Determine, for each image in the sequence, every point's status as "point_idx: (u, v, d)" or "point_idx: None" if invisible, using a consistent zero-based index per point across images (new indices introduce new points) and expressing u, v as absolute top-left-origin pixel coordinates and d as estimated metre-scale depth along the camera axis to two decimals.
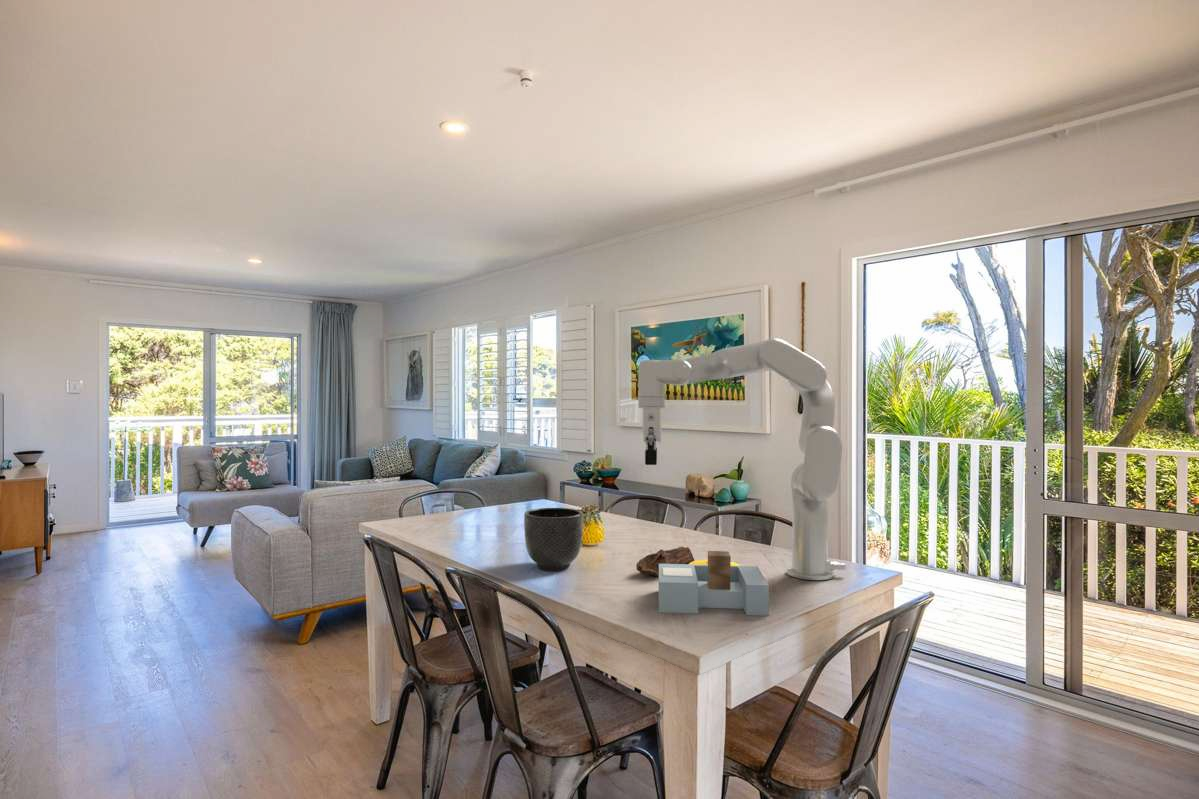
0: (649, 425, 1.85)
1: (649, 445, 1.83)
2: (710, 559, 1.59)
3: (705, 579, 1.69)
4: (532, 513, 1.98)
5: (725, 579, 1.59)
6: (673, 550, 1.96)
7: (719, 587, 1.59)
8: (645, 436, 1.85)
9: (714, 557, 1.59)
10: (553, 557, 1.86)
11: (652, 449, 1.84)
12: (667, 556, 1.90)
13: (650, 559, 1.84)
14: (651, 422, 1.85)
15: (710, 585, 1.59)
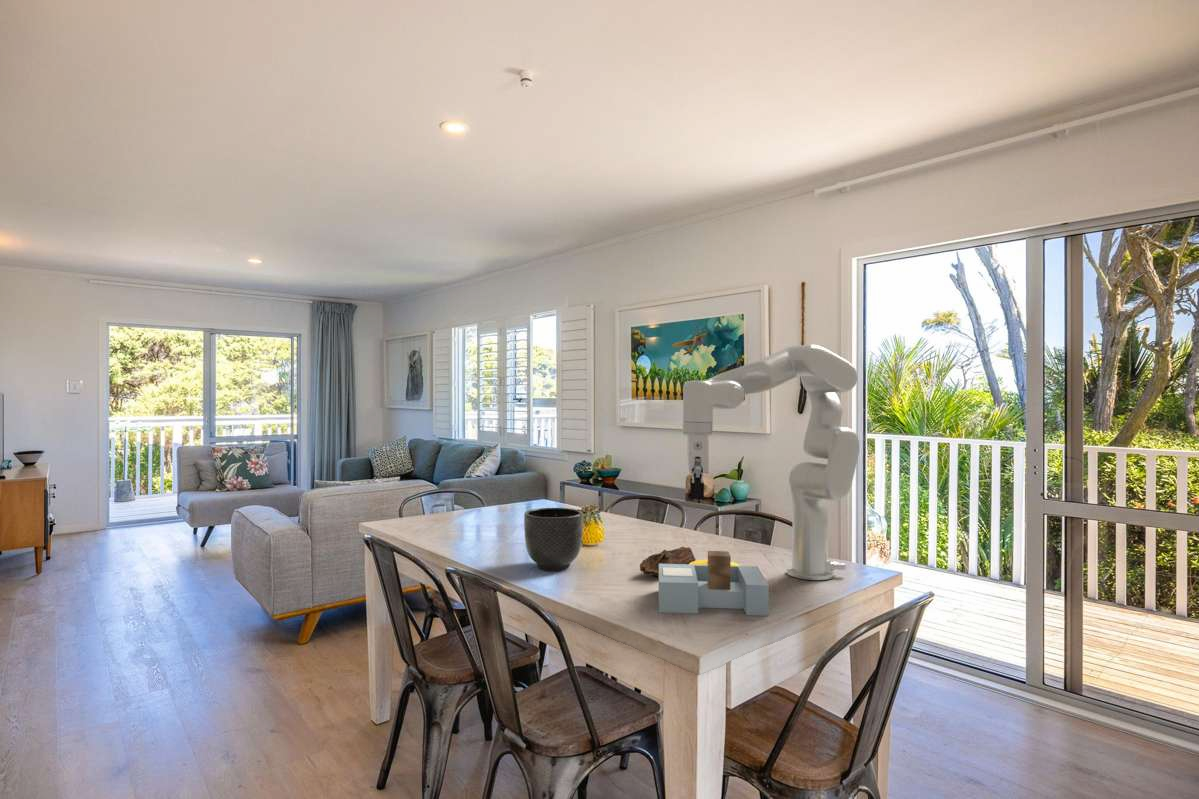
0: (696, 454, 1.64)
1: (696, 477, 1.62)
2: (710, 559, 1.59)
3: (705, 579, 1.69)
4: (532, 513, 1.98)
5: (725, 579, 1.59)
6: (675, 550, 1.95)
7: (719, 587, 1.59)
8: (691, 467, 1.64)
9: (714, 557, 1.59)
10: (553, 557, 1.86)
11: (699, 482, 1.63)
12: (669, 556, 1.90)
13: (654, 560, 1.83)
14: (698, 451, 1.64)
15: (710, 585, 1.59)
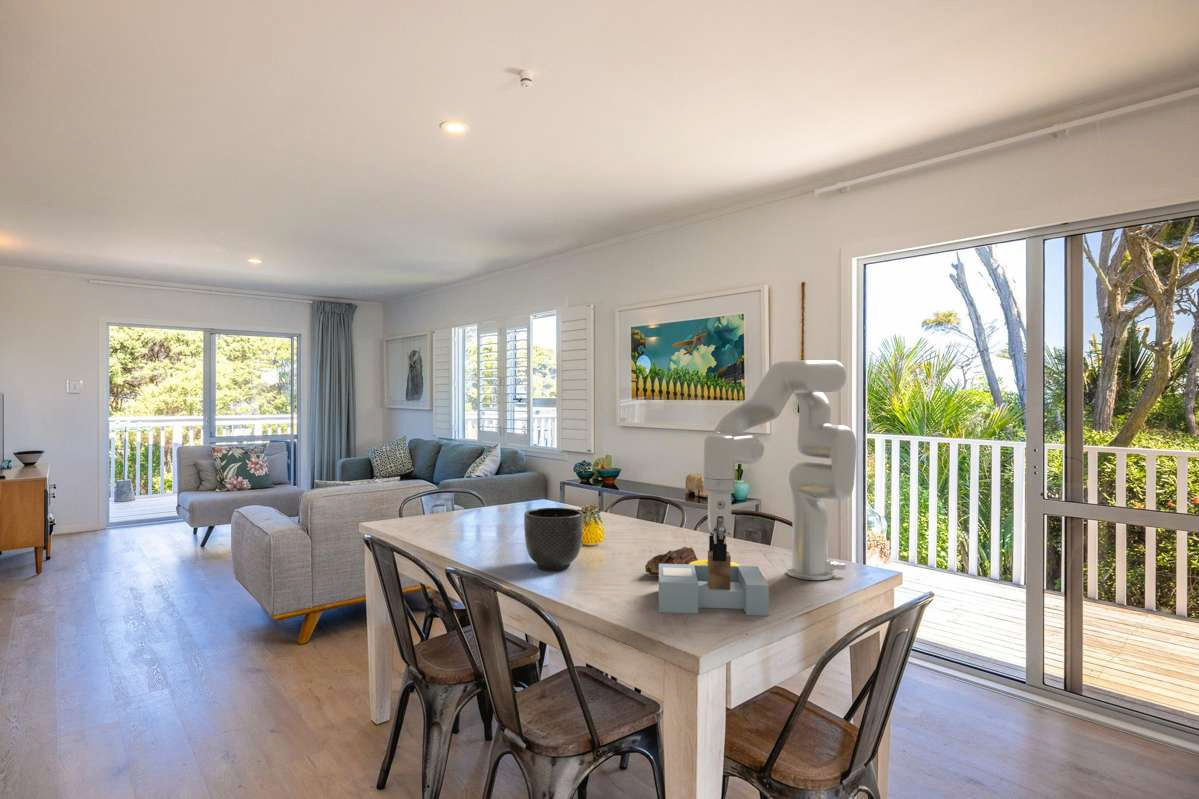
0: (718, 513, 1.56)
1: (719, 539, 1.54)
2: (710, 559, 1.59)
3: (705, 579, 1.69)
4: (532, 513, 1.98)
5: (725, 579, 1.59)
6: (677, 551, 1.95)
7: (719, 587, 1.59)
8: (713, 527, 1.56)
9: None
10: (553, 557, 1.86)
11: (722, 543, 1.55)
12: None
13: (659, 560, 1.82)
14: (720, 510, 1.56)
15: (710, 585, 1.59)
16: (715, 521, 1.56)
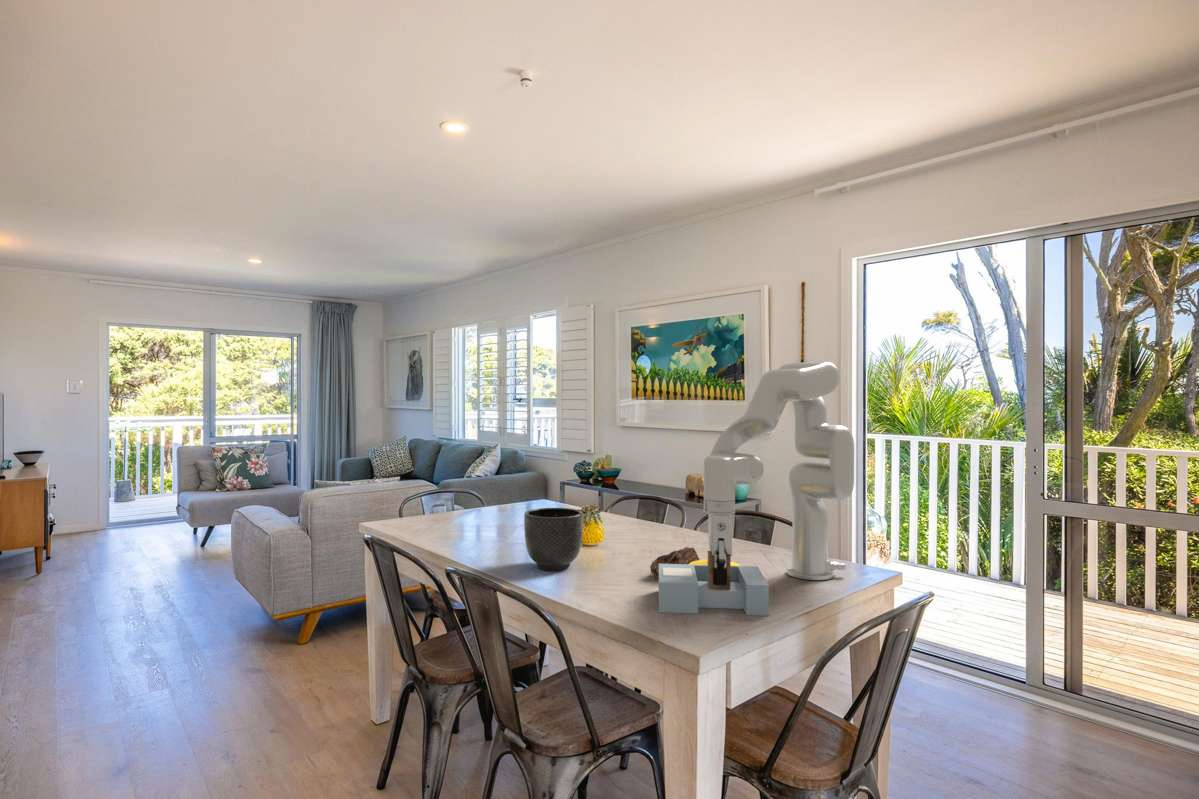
0: (719, 535, 1.56)
1: (719, 563, 1.56)
2: (710, 559, 1.59)
3: (705, 579, 1.69)
4: (532, 513, 1.98)
5: None
6: (680, 551, 1.94)
7: (719, 587, 1.59)
8: (714, 549, 1.56)
9: None
10: (553, 557, 1.86)
11: (722, 568, 1.57)
12: None
13: (664, 561, 1.82)
14: (721, 532, 1.56)
15: (710, 585, 1.59)
16: (716, 543, 1.56)
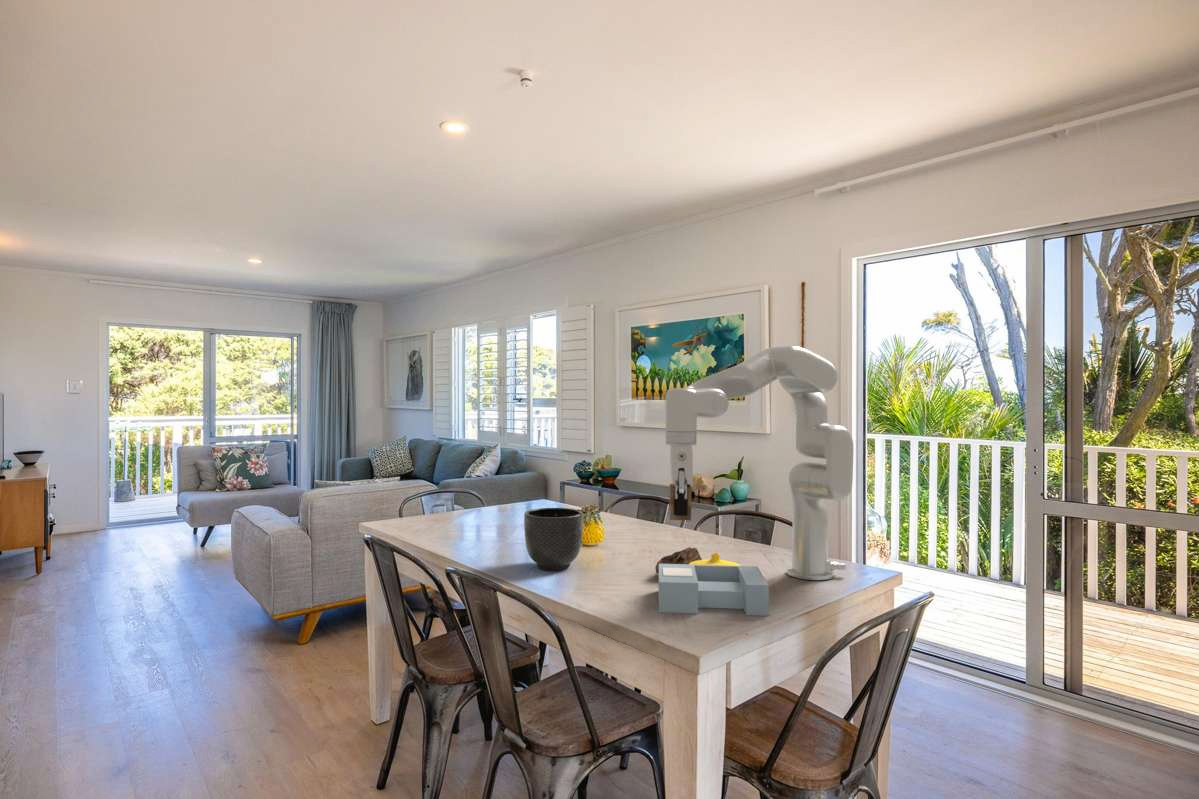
0: (679, 465, 1.57)
1: (680, 493, 1.57)
2: (671, 490, 1.59)
3: (705, 579, 1.69)
4: (532, 513, 1.98)
5: None
6: (683, 551, 1.94)
7: (680, 518, 1.59)
8: (674, 479, 1.57)
9: None
10: (553, 557, 1.86)
11: (682, 498, 1.58)
12: None
13: (669, 561, 1.81)
14: (682, 462, 1.57)
15: (671, 516, 1.59)
16: (676, 473, 1.57)
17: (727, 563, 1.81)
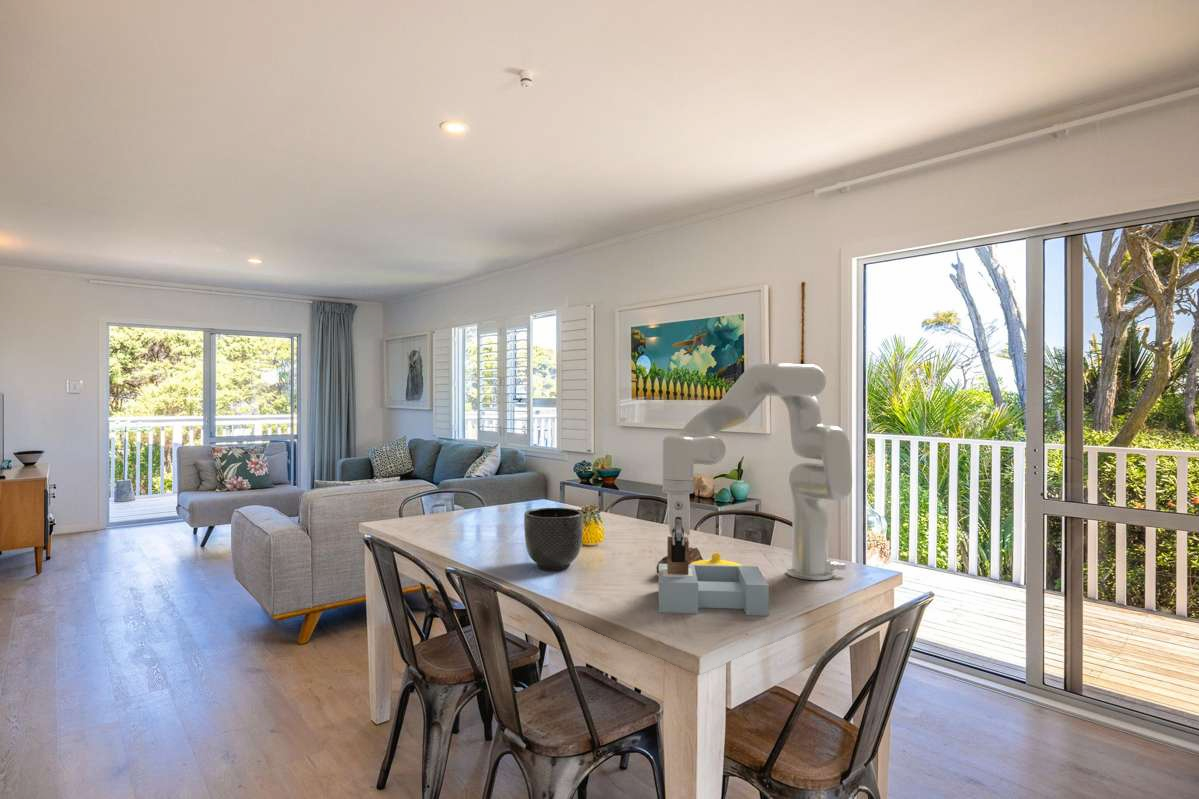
0: (676, 514, 1.57)
1: (677, 540, 1.55)
2: (668, 544, 1.60)
3: (705, 579, 1.69)
4: (532, 513, 1.98)
5: (683, 564, 1.59)
6: None
7: (677, 572, 1.60)
8: (671, 527, 1.57)
9: (672, 542, 1.60)
10: (553, 557, 1.86)
11: (680, 545, 1.56)
12: None
13: None
14: (678, 511, 1.57)
15: (668, 570, 1.60)
16: (673, 522, 1.57)
17: (728, 563, 1.81)
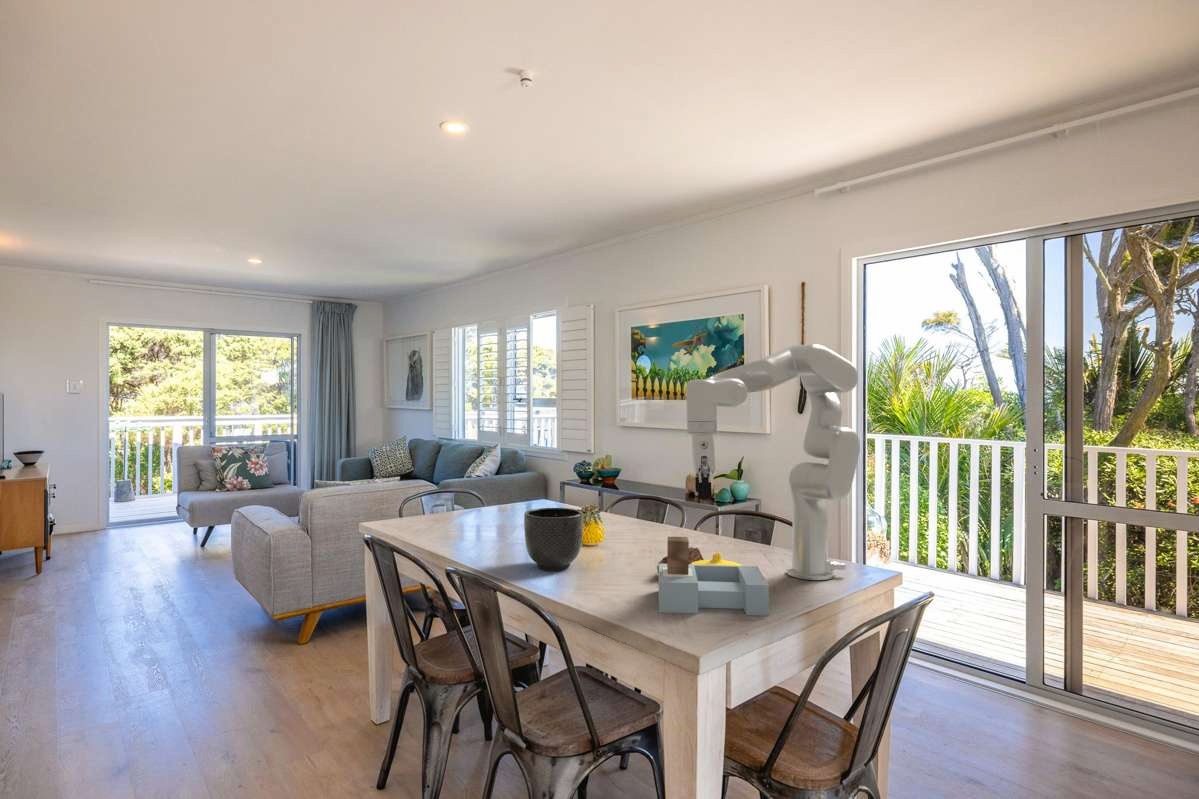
0: (702, 453, 1.63)
1: (704, 477, 1.61)
2: (668, 544, 1.60)
3: (705, 579, 1.69)
4: (532, 513, 1.98)
5: (683, 564, 1.59)
6: None
7: (677, 572, 1.60)
8: (698, 466, 1.64)
9: (672, 542, 1.60)
10: (553, 557, 1.86)
11: (706, 481, 1.62)
12: None
13: None
14: (704, 450, 1.63)
15: (668, 570, 1.60)
16: (699, 461, 1.64)
17: (728, 563, 1.81)
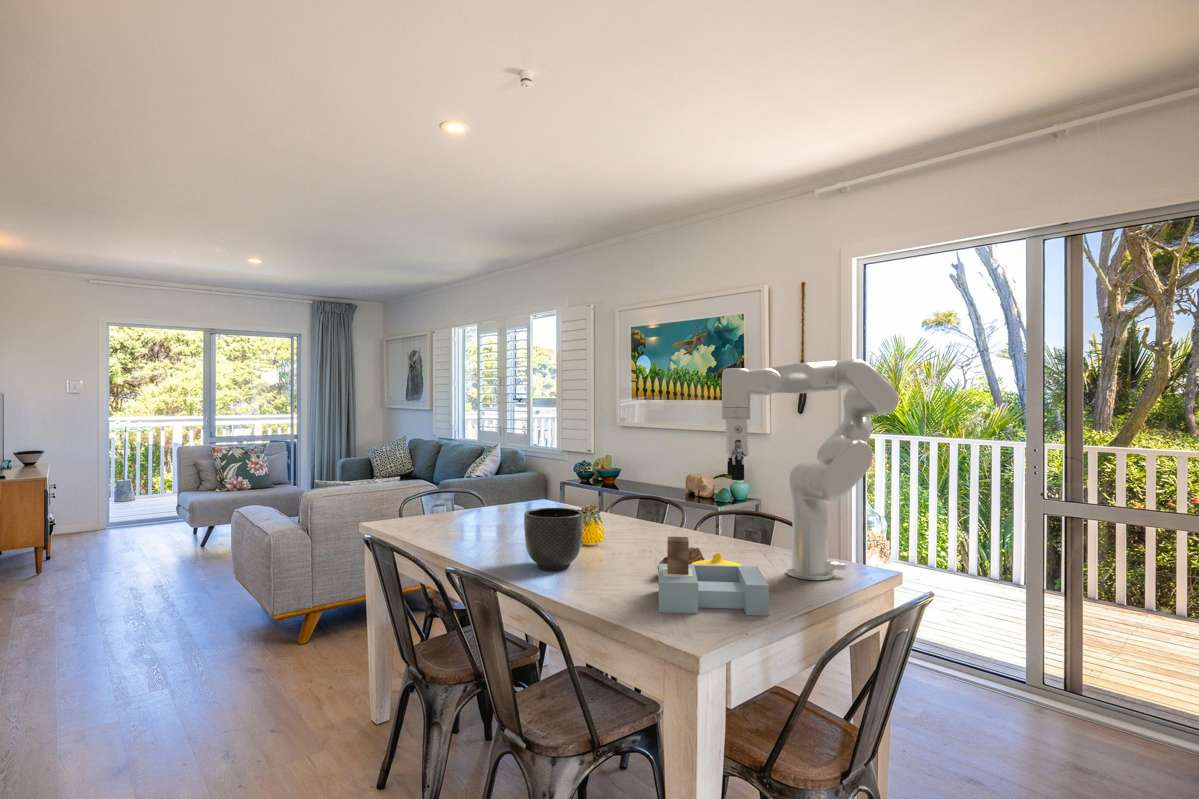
0: (736, 437, 1.73)
1: (737, 459, 1.71)
2: (668, 544, 1.60)
3: (705, 579, 1.69)
4: (532, 513, 1.98)
5: (683, 564, 1.59)
6: None
7: (677, 572, 1.60)
8: (731, 449, 1.74)
9: (672, 542, 1.60)
10: (553, 557, 1.86)
11: (740, 463, 1.72)
12: None
13: None
14: (738, 435, 1.73)
15: (668, 570, 1.60)
16: (733, 444, 1.74)
17: (729, 563, 1.80)
